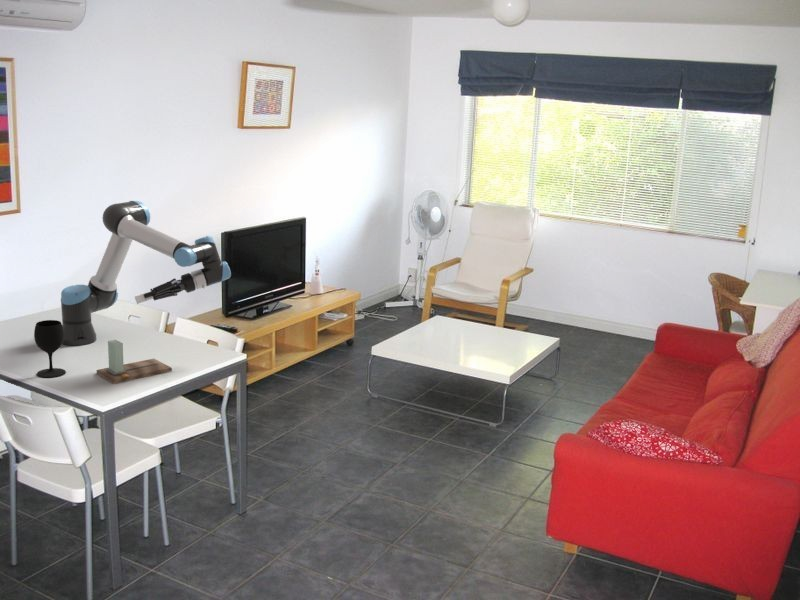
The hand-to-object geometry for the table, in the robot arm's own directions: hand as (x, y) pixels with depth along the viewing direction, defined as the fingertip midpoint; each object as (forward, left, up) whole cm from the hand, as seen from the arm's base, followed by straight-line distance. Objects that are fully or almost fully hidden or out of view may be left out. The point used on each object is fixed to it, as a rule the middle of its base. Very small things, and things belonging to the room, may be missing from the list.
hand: (136, 300), depth 330 cm
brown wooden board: (+6, -13, -25) cm, 29 cm away
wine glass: (-22, -25, -26) cm, 42 cm away
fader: (+2, -19, -23) cm, 30 cm away
